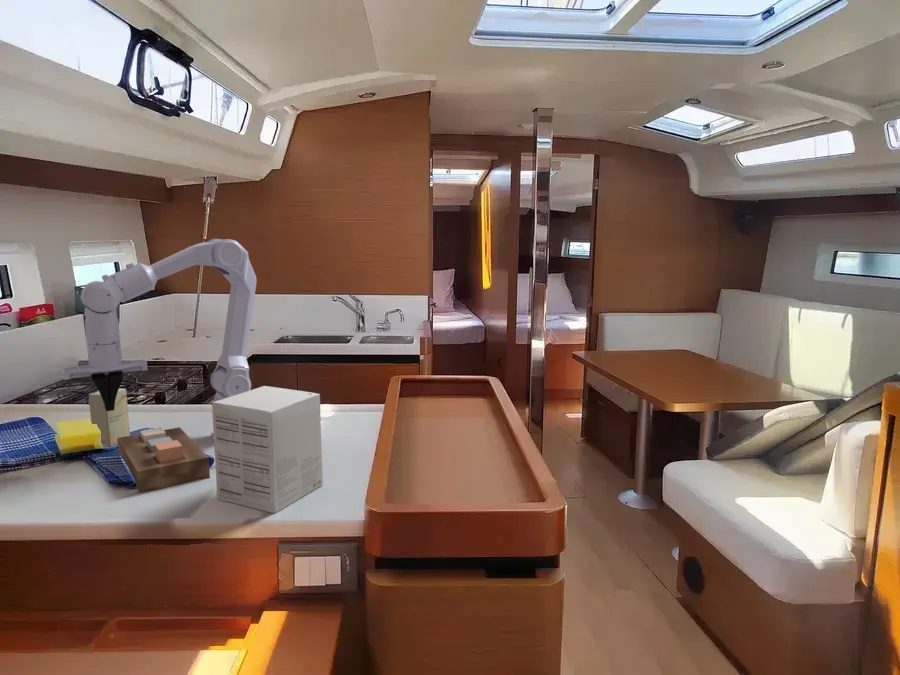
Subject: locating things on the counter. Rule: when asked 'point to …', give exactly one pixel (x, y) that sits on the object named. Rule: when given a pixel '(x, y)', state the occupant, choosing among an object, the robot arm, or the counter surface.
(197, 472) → the console
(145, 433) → the key ivory
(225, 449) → the supplement box
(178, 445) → the key terracotta
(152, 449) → the key slate
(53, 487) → the counter surface
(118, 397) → the skincare box
